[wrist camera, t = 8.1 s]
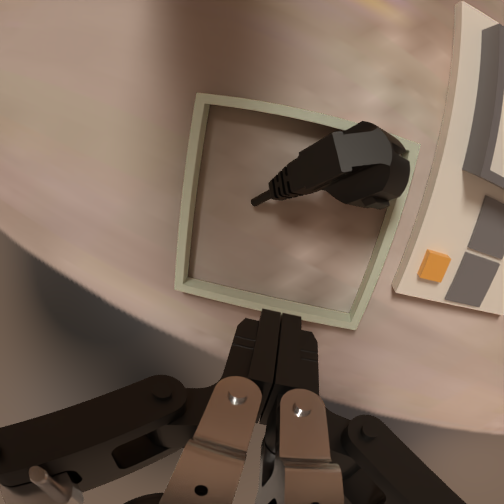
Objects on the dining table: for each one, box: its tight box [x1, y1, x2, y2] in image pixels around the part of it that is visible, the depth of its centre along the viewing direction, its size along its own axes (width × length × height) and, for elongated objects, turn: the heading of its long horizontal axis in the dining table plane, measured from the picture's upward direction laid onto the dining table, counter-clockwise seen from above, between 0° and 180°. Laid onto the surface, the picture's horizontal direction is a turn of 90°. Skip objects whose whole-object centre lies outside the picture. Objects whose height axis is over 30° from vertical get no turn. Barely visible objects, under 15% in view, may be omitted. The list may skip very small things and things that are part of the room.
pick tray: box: [174, 93, 421, 330], centre depth 24 cm, size 18×18×2 cm
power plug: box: [251, 121, 410, 209], centre depth 21 cm, size 6×8×12 cm
